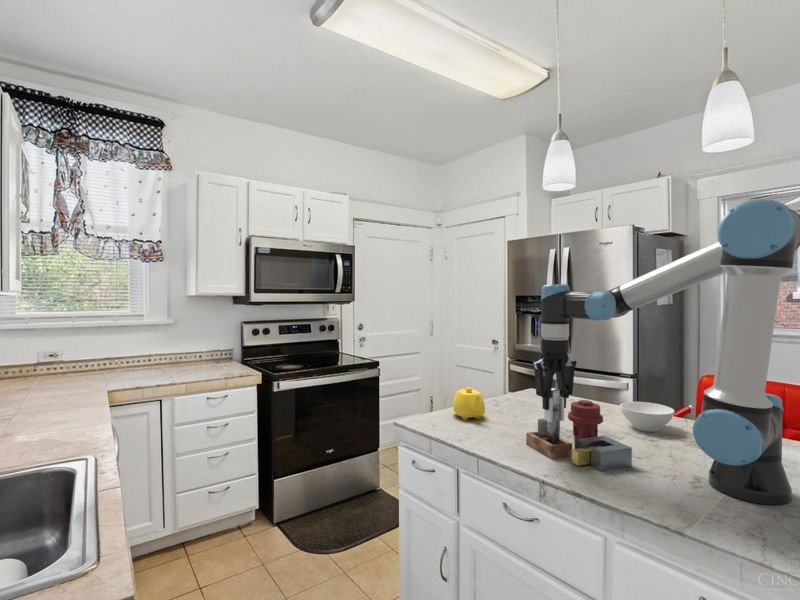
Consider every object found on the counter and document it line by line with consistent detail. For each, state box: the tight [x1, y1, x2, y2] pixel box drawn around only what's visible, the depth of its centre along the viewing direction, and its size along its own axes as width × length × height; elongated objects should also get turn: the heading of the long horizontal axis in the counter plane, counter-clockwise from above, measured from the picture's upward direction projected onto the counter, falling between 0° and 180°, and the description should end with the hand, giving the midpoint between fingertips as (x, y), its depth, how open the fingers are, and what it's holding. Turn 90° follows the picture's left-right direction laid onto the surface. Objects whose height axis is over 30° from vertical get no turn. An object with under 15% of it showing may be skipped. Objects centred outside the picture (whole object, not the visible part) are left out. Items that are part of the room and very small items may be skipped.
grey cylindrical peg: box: [548, 387, 561, 443], centre depth 126 cm, size 3×3×15 cm
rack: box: [525, 418, 573, 460], centre depth 128 cm, size 12×7×8 cm, turn 17°
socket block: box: [574, 435, 633, 472], centre depth 120 cm, size 10×10×5 cm
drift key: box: [571, 447, 591, 466], centre depth 118 cm, size 2×7×4 cm, turn 107°
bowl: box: [619, 401, 675, 433], centre depth 148 cm, size 16×16×7 cm
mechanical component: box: [567, 399, 604, 440], centre depth 136 cm, size 12×10×10 cm
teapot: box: [452, 387, 486, 421], centre depth 162 cm, size 18×11×11 cm, turn 13°
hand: (554, 420), depth 126 cm, fingers closed on grey cylindrical peg, 3 cm apart
